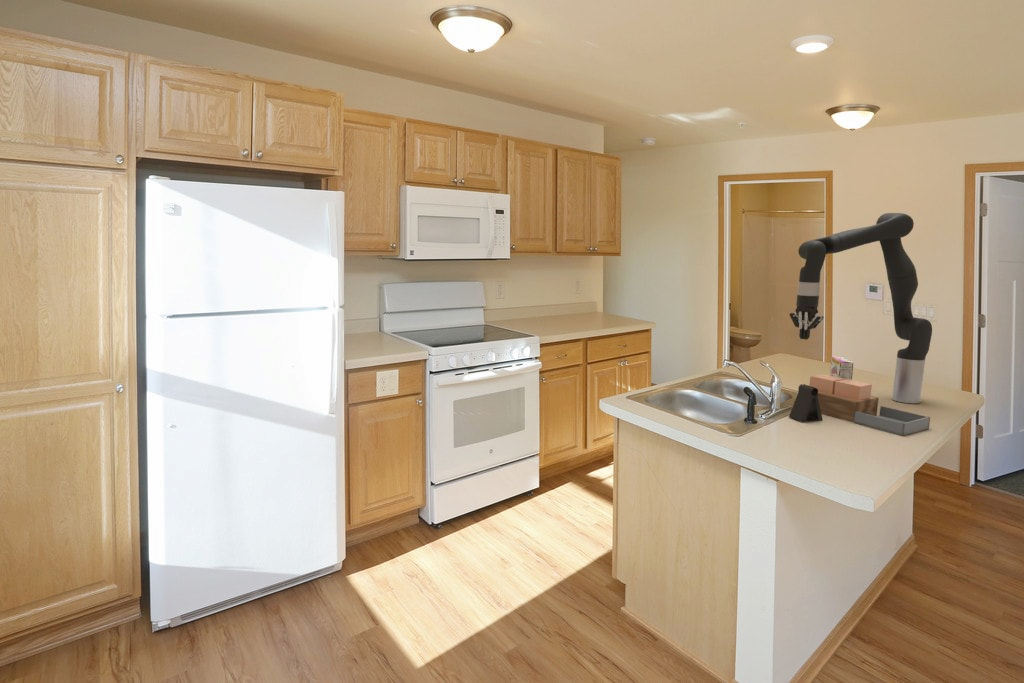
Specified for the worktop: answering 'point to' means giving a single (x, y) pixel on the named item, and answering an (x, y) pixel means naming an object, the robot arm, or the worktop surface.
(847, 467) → the worktop surface
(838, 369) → the candy bar box
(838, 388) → the tile front
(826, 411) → the brown wooden block
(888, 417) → the tray
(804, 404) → the phone stand
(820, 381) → the pink rectangular block
